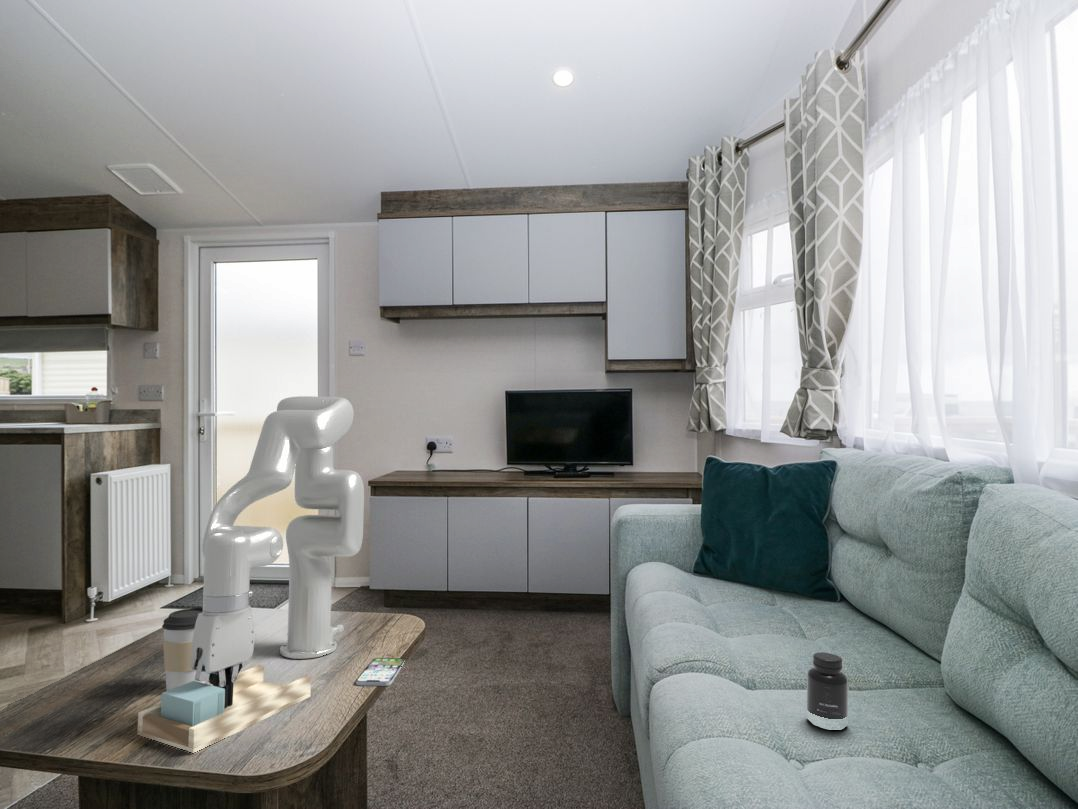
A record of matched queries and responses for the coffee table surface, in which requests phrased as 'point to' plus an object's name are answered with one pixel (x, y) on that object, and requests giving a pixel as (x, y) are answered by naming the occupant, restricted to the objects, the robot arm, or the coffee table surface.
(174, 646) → the coffee cup
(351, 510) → the robot arm
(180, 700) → the light blue block
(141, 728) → the bay
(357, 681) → the smartphone
